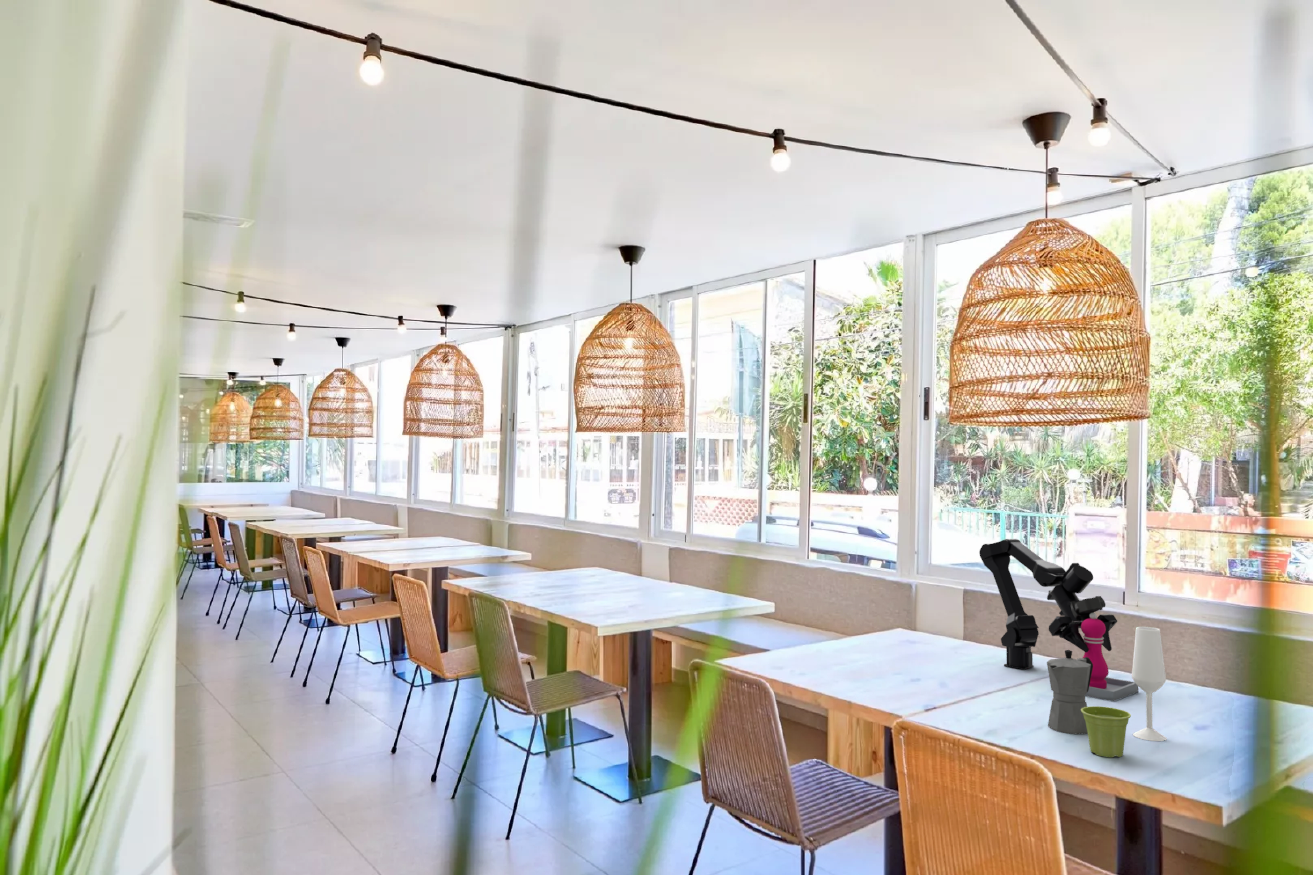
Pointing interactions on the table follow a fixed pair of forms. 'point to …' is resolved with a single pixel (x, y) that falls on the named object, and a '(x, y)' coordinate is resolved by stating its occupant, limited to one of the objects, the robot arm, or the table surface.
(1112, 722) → the plant pot
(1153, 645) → the champagne flute
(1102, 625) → the pepper mill
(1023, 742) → the table surface
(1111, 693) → the tray
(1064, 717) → the coffeepot
